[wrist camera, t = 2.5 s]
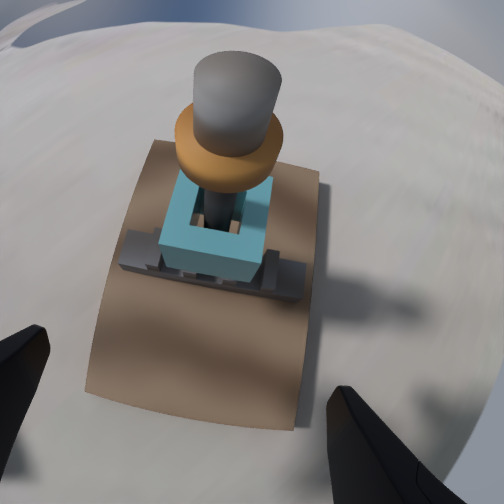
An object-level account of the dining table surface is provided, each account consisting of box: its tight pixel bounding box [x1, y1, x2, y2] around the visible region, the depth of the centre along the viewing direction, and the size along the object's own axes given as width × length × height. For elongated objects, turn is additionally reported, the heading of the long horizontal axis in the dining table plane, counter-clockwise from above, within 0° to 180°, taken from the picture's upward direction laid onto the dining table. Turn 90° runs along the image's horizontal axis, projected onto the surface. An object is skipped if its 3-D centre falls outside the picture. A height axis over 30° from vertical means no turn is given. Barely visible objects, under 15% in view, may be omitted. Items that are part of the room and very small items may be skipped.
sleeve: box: [158, 169, 273, 283], centre depth 14 cm, size 4×4×3 cm
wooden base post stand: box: [85, 51, 319, 431], centre depth 14 cm, size 20×14×17 cm
